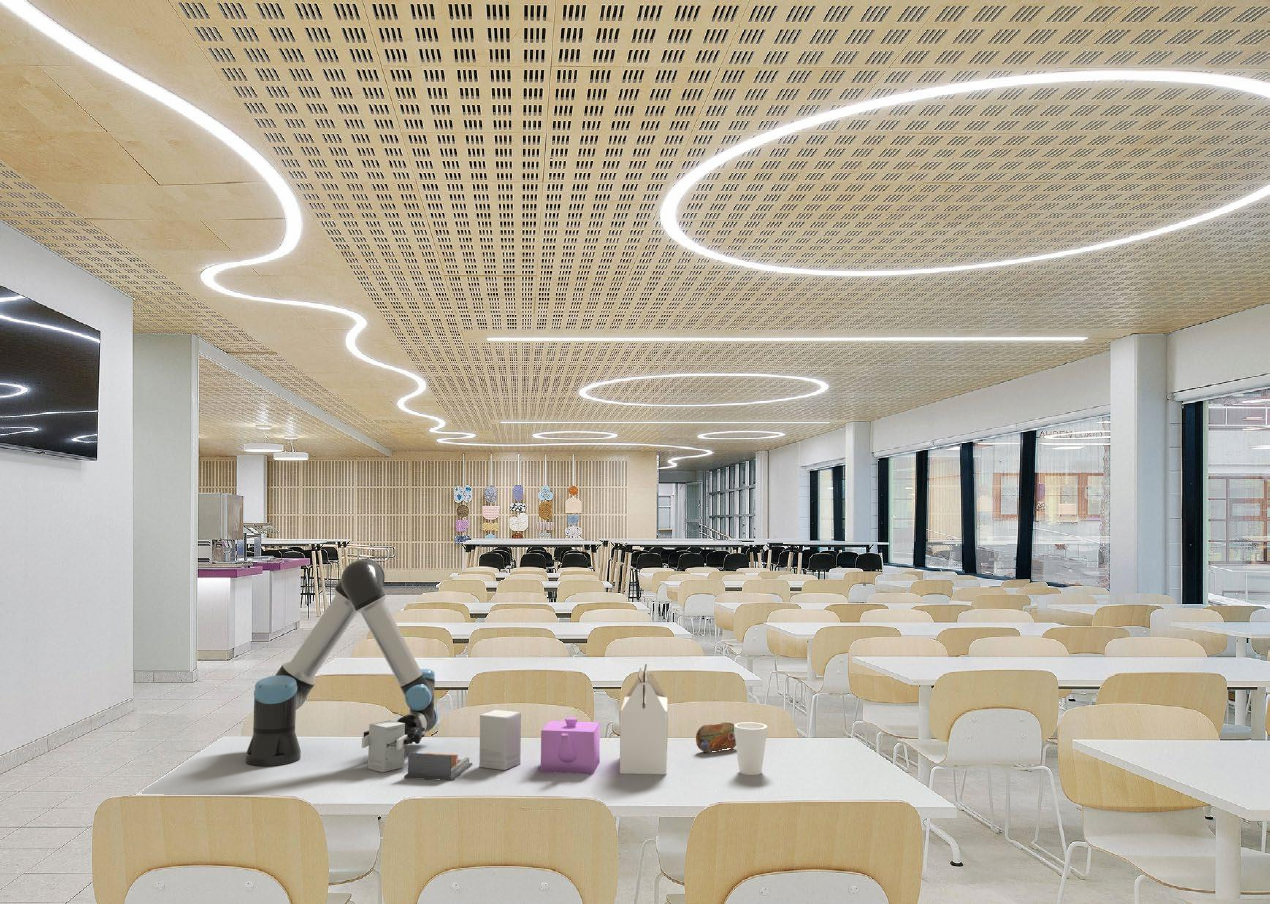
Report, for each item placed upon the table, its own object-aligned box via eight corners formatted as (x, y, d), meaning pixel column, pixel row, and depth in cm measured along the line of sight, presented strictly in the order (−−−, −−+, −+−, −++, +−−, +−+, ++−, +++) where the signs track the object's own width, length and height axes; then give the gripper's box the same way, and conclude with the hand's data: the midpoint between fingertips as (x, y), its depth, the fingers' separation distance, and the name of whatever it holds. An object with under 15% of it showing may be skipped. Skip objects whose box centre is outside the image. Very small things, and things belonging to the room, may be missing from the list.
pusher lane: (404, 778, 268) (404, 753, 269) (426, 762, 285) (426, 739, 286) (453, 780, 266) (453, 755, 267) (472, 764, 283) (472, 741, 283)
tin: (699, 754, 298) (700, 726, 299) (694, 752, 301) (694, 724, 302) (739, 749, 306) (739, 721, 307) (733, 747, 309) (733, 720, 309)
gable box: (623, 754, 297) (624, 661, 299) (667, 755, 297) (667, 662, 298) (619, 774, 275) (620, 673, 277) (666, 775, 274) (667, 674, 276)
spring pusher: (424, 767, 277) (424, 753, 277) (425, 766, 278) (426, 752, 279) (456, 768, 276) (456, 755, 276) (457, 767, 277) (457, 754, 277)
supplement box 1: (383, 773, 273) (384, 727, 274) (367, 768, 278) (368, 723, 279) (404, 767, 279) (405, 722, 280) (388, 763, 284) (389, 719, 284)
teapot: (535, 779, 269) (536, 727, 270) (551, 756, 294) (552, 709, 295) (590, 780, 268) (590, 729, 269) (601, 758, 293) (602, 711, 294)
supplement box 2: (521, 763, 285) (522, 711, 286) (505, 771, 277) (506, 717, 278) (495, 760, 289) (496, 708, 290) (478, 767, 281) (479, 714, 282)
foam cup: (745, 777, 272) (745, 730, 273) (727, 770, 280) (727, 724, 281) (773, 774, 276) (773, 727, 277) (755, 766, 285) (755, 721, 285)
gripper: (444, 741, 295) (417, 759, 273) (375, 737, 298) (342, 755, 276) (445, 715, 295) (418, 731, 273) (375, 713, 299) (343, 728, 277)
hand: (380, 743), depth 275 cm, fingers closed on supplement box 1, 9 cm apart
